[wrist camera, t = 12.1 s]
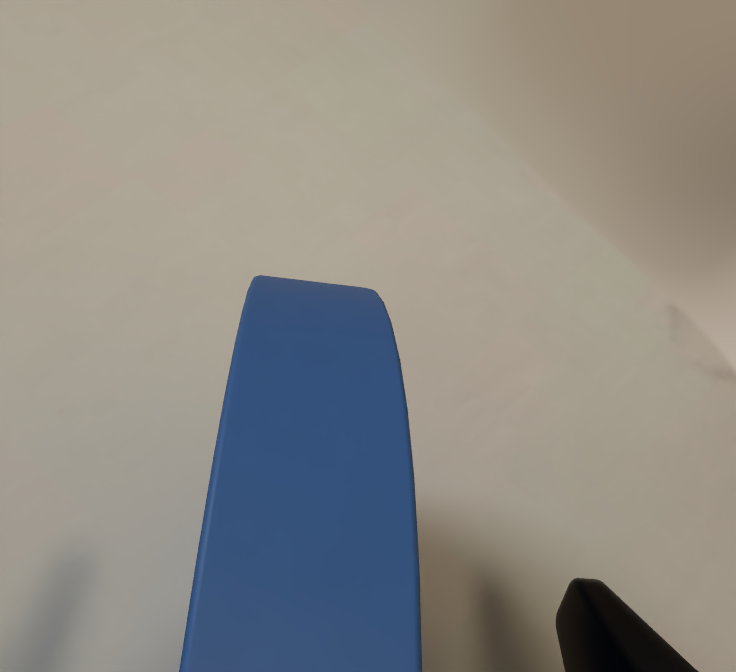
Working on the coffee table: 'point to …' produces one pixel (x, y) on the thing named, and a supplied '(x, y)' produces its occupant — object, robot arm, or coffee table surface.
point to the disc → (309, 494)
